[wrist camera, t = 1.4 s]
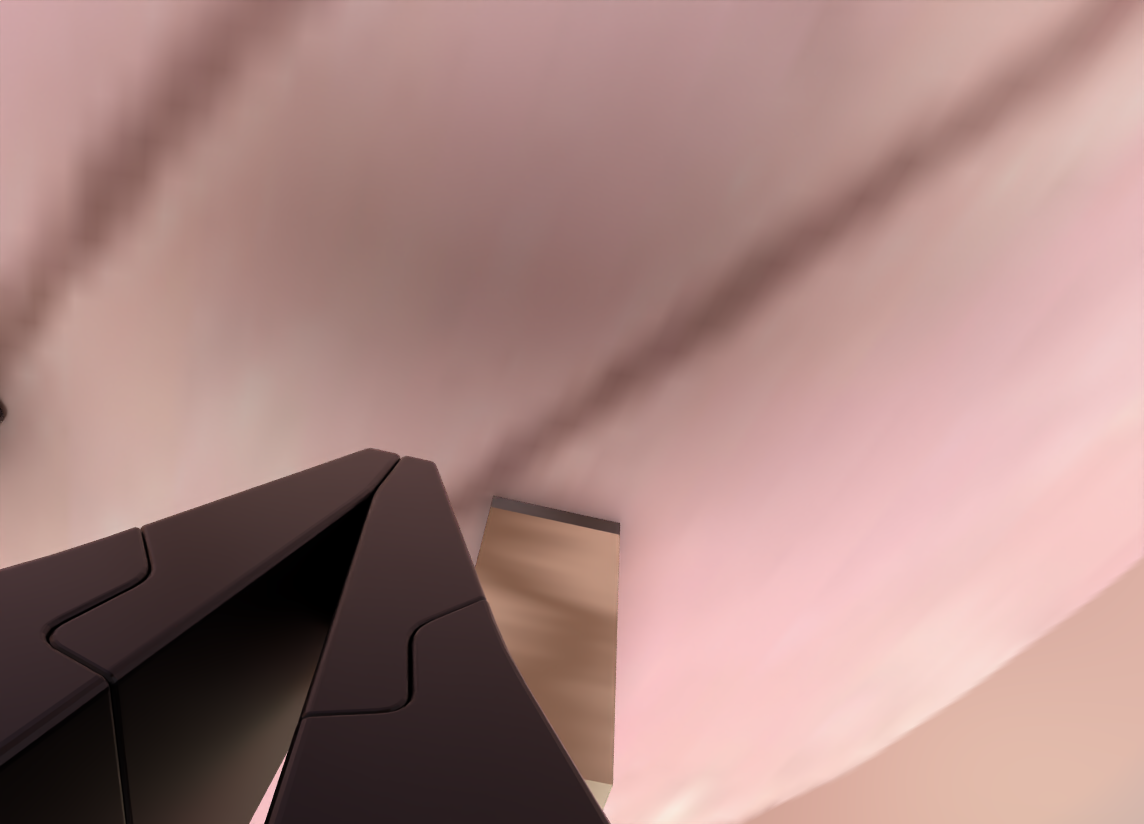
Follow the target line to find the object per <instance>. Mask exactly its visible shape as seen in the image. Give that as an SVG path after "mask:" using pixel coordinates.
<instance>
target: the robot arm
mask: <svg viewBox="0 0 1144 824" xmlns="http://www.w3.org/2000/svg"><path fill="white" fill-rule="evenodd" d="M2 421H3V413H2V410H1V408H0V423H1V422H2ZM287 752H288V753H287ZM286 754H287V756H286V759H285V762H284V765H283V768H282V771H281V774H280V777H279V780H278V783H277V786H276V789H275V793H274V796H273V799H272V802H271V805H270V808H269V811H268V814H267V817H266V820H265V823H264V824H611V823H610V822H609V820H608V818H607V817H606V815H605V813H604V812H603V810H602V808H601V807H600V805H599V803H598V802H597V800H596V799H595V797H594V795H593V794H592V792H591V790H590V789H589V787H588V785H587V784H586V782H585V780H584V779H583V777H582V775H581V774H580V772H579V770H578V769H577V767H576V765H575V764H574V762H573V760H572V759H571V757H570V755H569V754H568V752H567V750H566V749H565V747H564V745H563V744H562V742H561V740H560V739H559V737H558V735H557V734H556V732H555V730H554V729H553V727H552V725H551V724H550V722H549V720H548V719H547V717H546V715H545V714H544V712H543V710H542V709H541V707H540V705H539V704H538V702H537V700H536V699H535V697H534V695H533V694H532V692H531V690H530V689H529V687H528V685H527V683H526V682H525V680H524V678H523V676H522V674H521V673H520V671H519V669H518V667H517V665H516V664H515V662H514V660H513V658H512V656H511V655H510V653H509V651H508V648H507V646H506V644H505V641H504V639H503V637H502V635H501V632H500V630H499V628H498V625H497V623H496V621H495V618H494V615H493V613H492V610H491V607H490V605H489V603H488V601H487V599H486V596H485V594H484V591H483V588H482V586H481V583H480V580H479V578H478V575H477V573H476V570H475V567H474V565H473V562H472V559H471V557H470V554H469V551H468V549H467V546H466V543H465V541H464V538H463V535H462V533H461V530H460V527H459V525H458V522H457V519H456V517H455V514H454V511H453V509H452V506H451V503H450V501H449V498H448V495H447V493H446V490H445V487H444V485H443V482H442V479H441V477H440V474H439V471H438V469H437V466H436V464H435V463H434V462H432V461H428V460H423V459H419V458H414V457H409V456H405V457H402V458H400V456H399V455H398V454H395V453H391V452H386V451H382V450H377V449H373V448H369V449H364V450H362V451H359V452H356V453H353V454H350V455H347V456H344V457H341V458H338V459H335V460H333V461H330V462H327V463H324V464H321V465H318V466H315V467H312V468H309V469H306V470H304V471H301V472H298V473H295V474H292V475H289V476H286V477H283V478H280V479H278V480H275V481H272V482H269V483H266V484H263V485H260V486H257V487H254V488H251V489H249V490H246V491H243V492H240V493H237V494H234V495H231V496H228V497H225V498H222V499H219V500H217V501H214V502H211V503H208V504H205V505H202V506H199V507H196V508H193V509H190V510H187V511H185V512H182V513H179V514H176V515H173V516H170V517H167V518H164V519H161V520H158V521H156V522H153V523H150V524H147V525H144V526H142V528H141V530H140V529H139V528H136V527H135V528H131V529H129V530H126V531H123V532H120V533H117V534H114V535H111V536H108V537H106V538H103V539H99V540H96V541H93V542H90V543H87V544H84V545H81V546H78V547H75V548H71V549H68V550H65V551H62V552H59V553H56V554H53V555H50V556H46V557H42V558H39V559H35V560H32V561H28V562H25V563H21V564H18V565H14V566H11V567H7V568H3V569H0V824H249V823H250V821H251V819H252V817H253V815H254V813H255V812H256V810H257V808H258V806H259V804H260V802H261V800H262V798H263V797H264V795H265V793H266V791H267V789H268V787H269V785H270V784H271V782H272V780H273V778H274V776H275V774H276V772H277V770H278V769H279V767H280V765H281V763H282V761H283V759H284V757H285V755H286Z"/></svg>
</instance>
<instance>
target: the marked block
mask: <svg viewBox="0 0 1144 824" xmlns="http://www.w3.org/2000/svg"><path fill="white" fill-rule="evenodd" d="M619 540H620V523H616V522H612V521H607V520H603V519H598V518H593V517H589V516H584V515H580V514H575V513H571V512H566V511H561V510H557V509H552V508H548V507H543V506H538V505H534V504H529V503H525V502H520V501H515V500H511V499H506V498H502V497H497V496H493V500H492V504H491V508H490V512H489V515H488V519H487V523H486V527H485V531H484V535H483V539H482V543H481V547H480V551H479V555H478V559H477V563H476V567H475V570H476V573H477V575H478V578H479V580H480V583H481V586H482V588H483V591H484V594H485V596H486V599H487V601H488V603H489V605H490V607H491V610H492V613H493V615H494V618H495V621H496V623H497V625H498V628H499V630H500V632H501V635H502V637H503V639H504V641H505V644H506V646H507V648H508V651H509V653H510V655H511V656H512V658H513V660H514V662H515V664H516V665H517V667H518V669H519V671H520V673H521V674H522V676H523V678H524V680H525V682H526V683H527V685H528V687H529V689H530V690H531V692H532V694H533V695H534V697H535V699H536V700H537V702H538V704H539V705H540V707H541V709H542V710H543V712H544V714H545V715H546V717H547V719H548V720H549V722H550V724H551V725H552V727H553V729H554V730H555V732H556V734H557V735H558V737H559V739H560V740H561V742H562V744H563V745H564V747H565V749H566V750H567V752H568V754H569V755H570V757H571V759H572V760H573V762H574V764H575V765H576V767H577V769H578V770H579V772H580V774H581V775H582V777H583V779H584V780H585V782H586V784H587V785H588V787H589V789H590V790H591V792H592V794H593V795H594V797H595V799H596V800H597V802H598V803H599V805H600V807H601V808H602V810H603V808H604V806H605V803H606V801H607V798H608V796H609V793H610V791H611V788H612V786H613V763H614V725H615V688H616V651H617V614H618V577H619Z"/></svg>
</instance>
